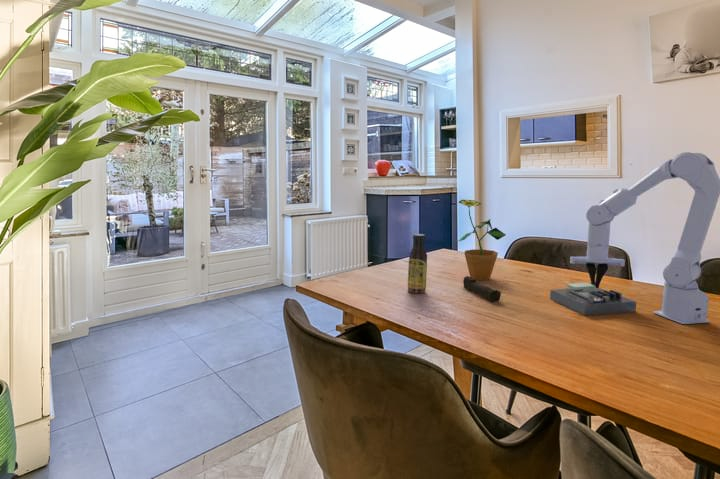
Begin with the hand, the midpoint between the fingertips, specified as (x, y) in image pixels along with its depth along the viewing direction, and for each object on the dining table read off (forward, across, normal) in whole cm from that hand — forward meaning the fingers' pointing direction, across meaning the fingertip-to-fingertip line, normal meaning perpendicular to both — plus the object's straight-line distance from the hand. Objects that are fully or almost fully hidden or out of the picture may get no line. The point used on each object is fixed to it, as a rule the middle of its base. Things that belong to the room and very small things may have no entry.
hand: (594, 287), depth 129 cm
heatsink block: (+4, -2, -6) cm, 8 cm away
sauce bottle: (+4, -55, -8) cm, 55 cm away
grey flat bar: (+1, -4, -8) cm, 9 cm away
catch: (+1, -4, -3) cm, 5 cm away
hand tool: (+4, -35, -5) cm, 36 cm away
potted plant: (+4, -36, +18) cm, 40 cm away
